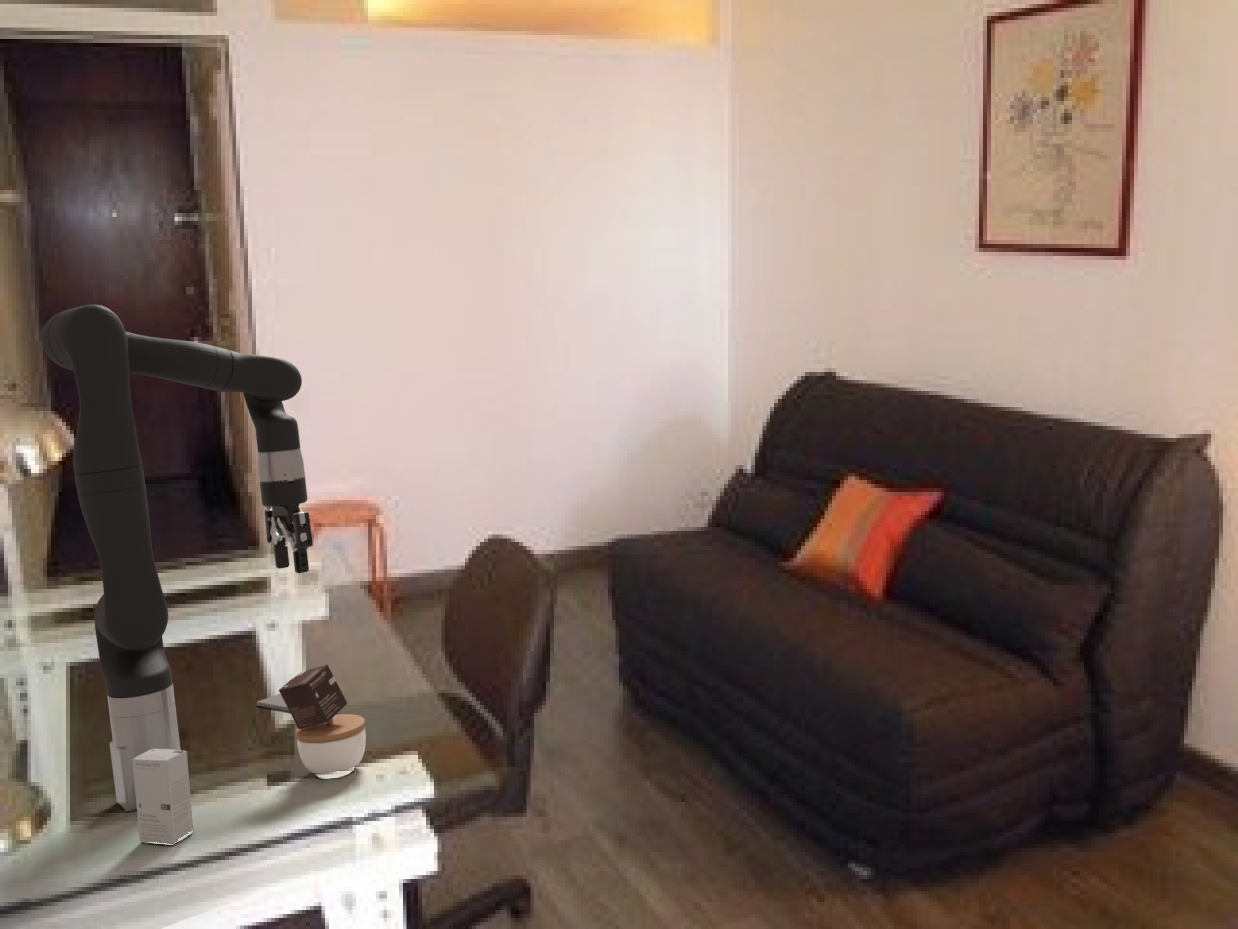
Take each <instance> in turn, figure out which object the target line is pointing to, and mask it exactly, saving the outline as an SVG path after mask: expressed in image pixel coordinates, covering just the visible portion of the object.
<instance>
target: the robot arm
mask: <svg viewBox="0 0 1238 929" xmlns="http://www.w3.org/2000/svg"><path fill="white" fill-rule="evenodd" d="M40 341H41V347H42V349H43V352H45V354H46V355H47V357H48V358H49V359H50V360H51V361H52V362H53V363H54V364H56V365H57V366H59V367H62V368H63V369H67V370H70V371H73V374H74V378H75V382H76V383H75V384H76V387H77V392H78V399H79V400H78V401H79V416H78V421H77V428H76V433H75V439H74V445H73V453H72V454H73V456H72V463H73V464H72V466H73V474H74V479H75V480H74V482H75V486H76V491H77V497H78V501H79V505H80V508H81V512H82V516H83V518H84V521H85V524H86V528H87V530H88V533H89V535H90V538H91V541H92V542H93V545H94V547H95V548H94V549H95V551H96V554H97V556H98V559H99V565H100V571H101V577H102V588H103V594H101V596H100V598H99V599H98V600H97V602H96V605H95V609H94V615H93V616H94V617H93V618H94V630H95V637H96V644H97V653H98V657H99V664H100V665H99V666H100V669H101V670H100V671H101V674H102V677H103V680H104V681H103V682H104V683H105V691H106V696H107V697H106V698H107V703H108V711H109V712H108V713H109V722H110V730H111V737H112V741H110V742H109V751H110V759H111V768H112V775H113V782H114V789H115V790H114V791H115V798H116V802H117V804H118V805H119V806H121V807H122V808H123V810H124V811H126V812H127V811H129V812H132V811H135V809H137V805H136V794H135V783H134V771H133V761H132V760H133V759H134V758H135V757H137V756H139V755H141V754H143V753H145V752H147V751H149V750H151V749H173V750H182V749H181V742H180V734H179V726H178V725H179V724H178V718H177V717H178V715H177V709H176V700H175V692H174V690H175V689H174V684H173V683H174V682H173V675H172V669H171V664H170V663H169V661H168V659H167V655H166V651H165V646H164V640H163V636H164V634H165V632H166V630H167V627H168V622H169V609H168V605H167V601H166V599H165V598H166V597H165V596H164V592H163V588H162V584H161V581H160V578H159V573H158V570H157V566H156V562H155V556H154V552H153V546H152V536H151V535H152V532H151V522H150V510H149V504H148V495H147V487H146V481H145V474H144V473H145V472H144V467H143V461H142V457H141V453H140V448H139V442H138V434H137V433H138V432H137V427H136V421H135V414H134V410H133V404H132V396H131V385H130V382H131V381H130V374H134V375H139V376H146V377H151V378H152V377H153V378H157V379H161V380H165V381H171V382H174V383H175V382H176V383H179V384H182V385H183V384H184V385H188V386H193V387H198V388H202V389H207V390H211V391H217V392H221V393H222V392H223V393H242V394H243V398H244V402H245V404H246V407H247V409H248V413H249V416H250V418H251V421H252V423H253V425H254V429H255V438H256V440H255V441H256V447H257V448H256V449H257V472H258V479H259V487H260V497H261V498H260V499H261V505H262V506H263V507H265V508H269V509H264V522H265V529H266V530H265V533H266V542H267V543H268V544H271V547H272V548H273V552H274V553H273V554H274V561H275V562H274V564H275V568H276V569H286V568H288V567H290V558H289V549H288V548H289V547H288V542H289V543H290V546H291V549H292V551H293V552H292V556H293V565H294V566H293V567H294V573H296V574H303V573H307V572H309V570H310V567H309V566H310V565H309V557H308V550H309V549H310V547H313V544H314V543H313V542H314V541H313V536H312V535H313V534H312V528H311V520H310V514H309V511H301V510H300V507H299V506H300V505H301V504H304V503H306V502H308V491H307V483H306V482H307V481H306V480H307V479H306V472H305V464H304V457H303V455H302V450H301V440H300V434H299V433H300V430H299V426H298V421H297V420H296V418H295V417H293V416H291V415H289V414H287V413H286V410H285V408H284V404H283V402H284V401H287V400H290V399H293V398H294V397H295V396H296V395H297V394H298V393H299V391H300V390H301V388H302V382H303V379H302V375H301V373H300V370H299V369H298V367H297V366H295V365H294V364H293V363H292V362H290V361H288V360H286V359H283V358H278V357H273V356H268V355H259V354H251V353H242V352H238V351H234V350H231V349H228V348H224V347H223V348H222V347H220V346H214V345H211V344H207V343H201V342H196V341H191V340H190V341H189V340H180V339H172V338H162V337H154V336H147V335H141V334H136V333H132V332H129V331H128V332H127V331H126V330H125V326H124V323H123V322H122V320H121V319H120V318H119V317H118V315H117V314H116V313H115V312H114V311H112V310H111V309H109V308H108V307H106V306H103V305H101V304H100V305H99V304H86V305H85V304H84V305H81V306H77V307H73V308H69V309H65V310H63V311H61V312H58V313H56V314H55V315H53V316H52V317H50V318H49V319H48V320H47V321H46V323H45V324H44V326H43V327H42V331H41V333H40Z"/></svg>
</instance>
